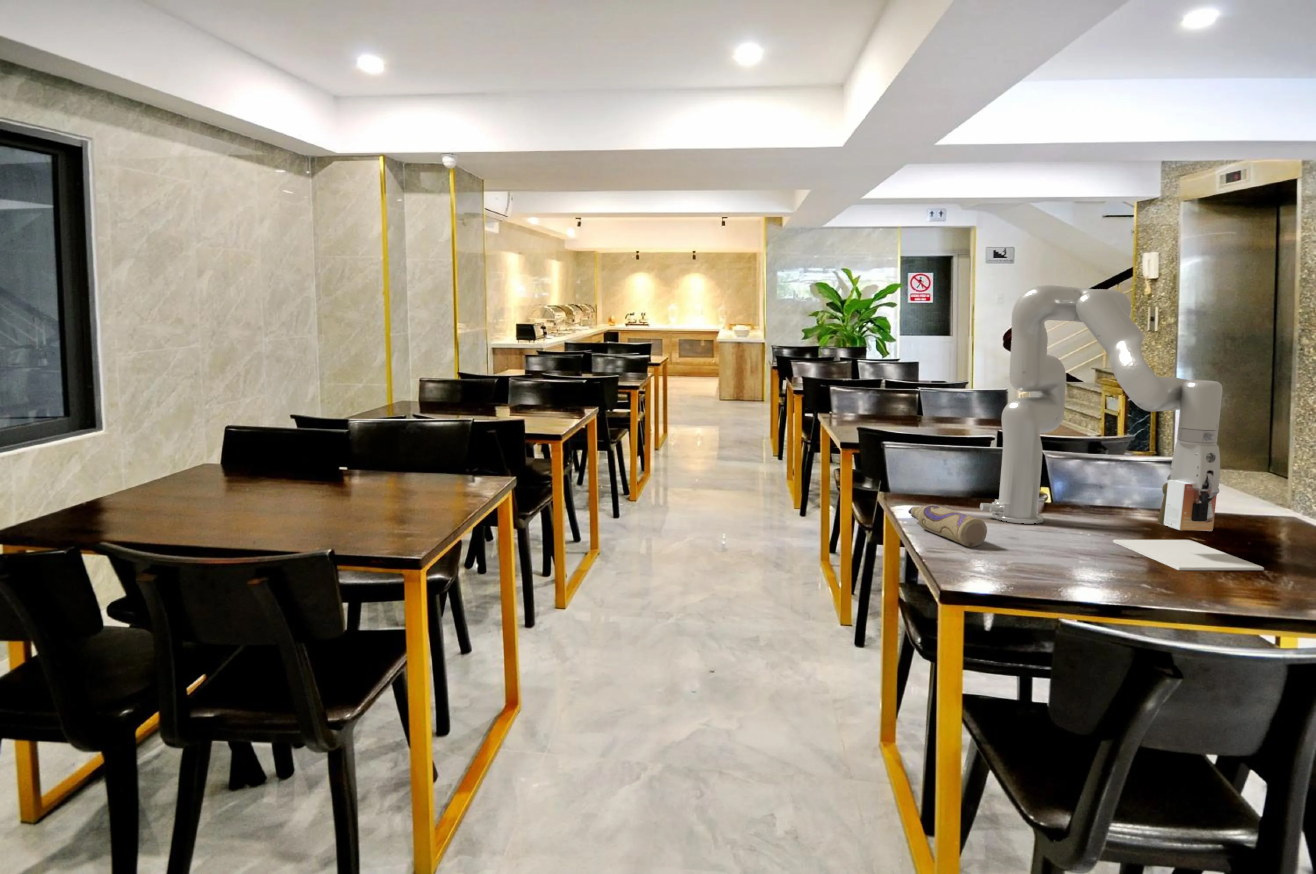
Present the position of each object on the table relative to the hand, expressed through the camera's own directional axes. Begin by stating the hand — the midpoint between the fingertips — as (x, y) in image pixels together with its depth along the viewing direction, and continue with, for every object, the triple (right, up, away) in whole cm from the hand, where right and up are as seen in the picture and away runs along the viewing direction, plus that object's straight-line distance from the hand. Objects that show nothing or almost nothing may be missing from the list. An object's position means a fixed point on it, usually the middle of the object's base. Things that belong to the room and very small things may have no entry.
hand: (1189, 516), depth 195 cm
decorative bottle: (-49, -6, +16) cm, 52 cm away
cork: (+14, -5, +31) cm, 35 cm away
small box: (0, -3, 0) cm, 3 cm away
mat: (0, -9, +1) cm, 9 cm away
